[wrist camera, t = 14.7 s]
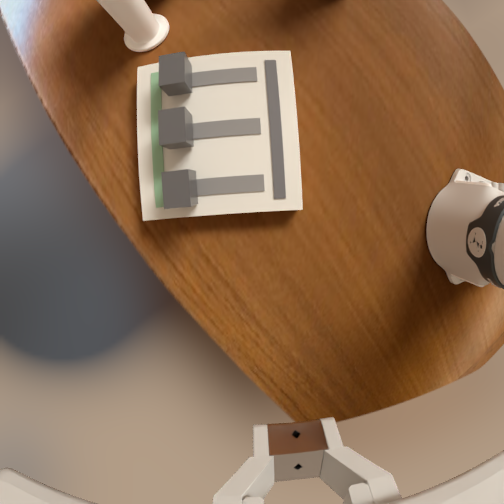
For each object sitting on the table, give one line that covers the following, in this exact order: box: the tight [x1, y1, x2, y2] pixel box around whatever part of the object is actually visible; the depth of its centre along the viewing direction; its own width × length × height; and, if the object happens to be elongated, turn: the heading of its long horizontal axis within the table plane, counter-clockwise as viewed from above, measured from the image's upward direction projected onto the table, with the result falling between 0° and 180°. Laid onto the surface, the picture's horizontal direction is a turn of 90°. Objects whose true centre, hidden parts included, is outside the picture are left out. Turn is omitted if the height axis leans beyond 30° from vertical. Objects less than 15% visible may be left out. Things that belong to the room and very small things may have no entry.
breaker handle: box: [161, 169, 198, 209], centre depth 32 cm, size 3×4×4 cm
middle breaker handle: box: [158, 106, 194, 149], centre depth 31 cm, size 3×4×4 cm
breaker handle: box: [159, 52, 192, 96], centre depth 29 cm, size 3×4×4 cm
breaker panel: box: [137, 51, 303, 221], centre depth 35 cm, size 20×21×3 cm
